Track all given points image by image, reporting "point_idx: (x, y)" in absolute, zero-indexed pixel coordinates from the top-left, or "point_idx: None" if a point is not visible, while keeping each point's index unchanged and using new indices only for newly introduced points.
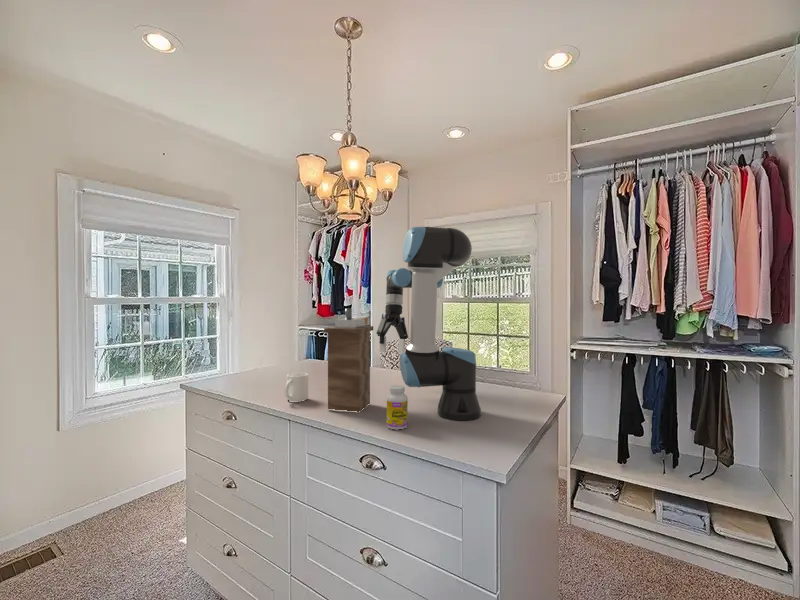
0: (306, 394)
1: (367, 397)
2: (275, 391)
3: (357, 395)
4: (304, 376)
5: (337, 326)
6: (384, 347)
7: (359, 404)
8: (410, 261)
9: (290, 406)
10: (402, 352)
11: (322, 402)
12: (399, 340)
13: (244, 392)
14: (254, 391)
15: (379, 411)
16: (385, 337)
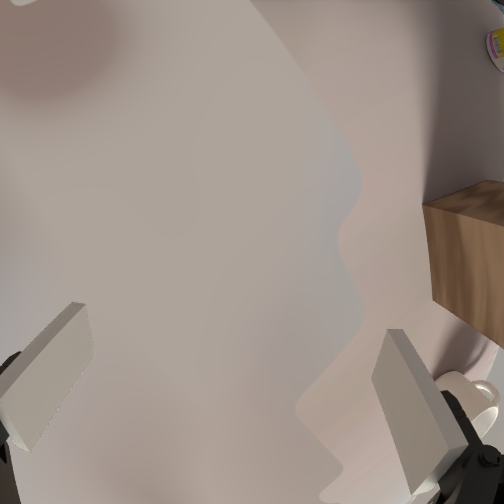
0: (454, 381)
1: (459, 202)
2: (386, 471)
3: None
4: (489, 406)
5: None
6: (416, 356)
7: (502, 183)
8: None
9: (480, 357)
10: (81, 317)
11: (446, 335)
12: (33, 434)
13: (407, 484)
14: (396, 484)
15: (458, 135)
16: (459, 433)
